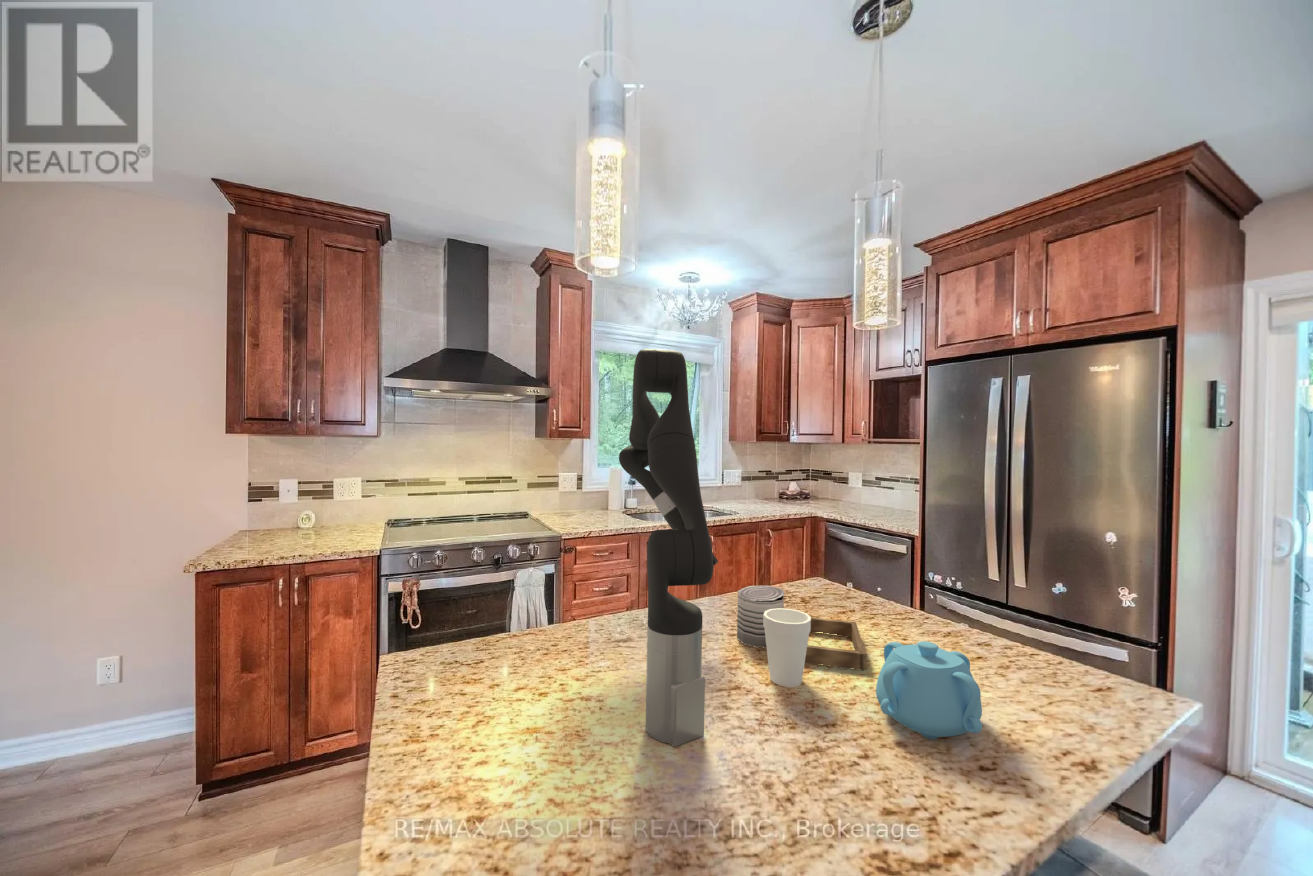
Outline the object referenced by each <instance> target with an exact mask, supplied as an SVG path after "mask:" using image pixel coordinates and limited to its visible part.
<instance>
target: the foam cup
mask: <svg viewBox="0 0 1313 876" xmlns="http://www.w3.org/2000/svg"><path fill="white" fill-rule="evenodd" d="M763 626H764V628H765V637H766V646H767V648H766V654H767V664H768V671H769V679H770V680H771V682H772V683H774V684H776V685H777V684H778V686H782V687H786V688H794V687H799V686H800V685H801V683H802V682H803V676H804V669H805V664H806V663H805V657H806V651H807V645H809V644H808V643H809V636H810V630H811V615H809V614H808V613H806V612H803V611H801V610H798V609H792V608H776V609H769V610H767V611H765V612H764V614H763Z"/></svg>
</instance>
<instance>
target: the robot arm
mask: <svg viewBox="0 0 1313 876" xmlns="http://www.w3.org/2000/svg"><path fill="white" fill-rule="evenodd" d="M686 363H687V362H686V358H685V355H684V354H683V353H682V352H681V351H677V350H672V349H660V348H659V349H658V348H657V349H656V348H643V349H640V350H639V351H638V352H637V354H636V357H635V360H634V366H633V377H632V416H631V417H632V418H631V423H630V428H629V435H628V436H629V437H628V440H629V444H630V445H628V446H627V447H624V448H623V449H622V450H621V451H620V452H619V453H618V454H619V455H618V462H619V464H620V466H621V468H622V469H623V470H624V471H625V472H626V473H627V474H628V475H629V476H631V477H632V478H633V479H634V480H635V481H636V482H638V484H640V485H641V486H642V487H643V488H644V489H645V491H646V492H647V493H648V495H649V496H650V498H651V499H652V501H653V502H654V504H655V507H656V508H657V510H658V512H659V513H660V514H661V516H662V517H663V519H664V521H666V523H667V524H668V526H669V527H670V528H671V529H657V530H656V529H655V530H653V531H652V532H651V533H650V535H649V536H648V538H647V546H646V549H647V550H646V565H647V566H646V567H647V568H646V569H647V591H648V592H647V633H646V635H647V637H646V638H647V639H646V640H647V641H646V677H645V678H646V681H645V682H646V683H645V684H646V685H645V688H646V689H645V730H646V732H647V734H648V735H649V736H650V737H651V738H653V739H655V740H657V741H659V742H662V743H667V744H670V745H672V746H673V747H677V746H681V745H683V744H686V743H688V742H690V741H693V740H695V739H698V738H700V737H702V736H703V737H704V735H705V705H706V704H705V700H706V699H705V698H706V696H705V695H706V694H705V693H706V678H705V677H704V676H703V675H702V655H703V651H702V650H703V611H702V610H701V608H700V607H699V606H697V604H695V603H692V602H689V601H687V600H684V599H681V598H678V597H677V596H674V595H673V594H671V593H670V592H669V587H679V586H681V587H683V586H686V587H688V586H703V585H706V584H708V583H710V581H711V580H712V577H713V573H714V566H715V565H716V564H718V562H719V561H718V558H717V557H716V556H715V554H714V553H713V547H712V544H713V543H712V540H711V537H710V531H709V527H708V522H707V517H706V514H705V509H704V504H703V499H702V494H701V486H700V478H699V467H698V458H697V456H698V455H697V451H696V442H695V437H694V433H693V432H694V431H693V426H692V418H691V413H690V404H689V388H688V387H689V385H688V373H687V372H688V371H687V364H686ZM647 393H659V394H660V393H661V394H666V393H667V394H670V400H669V403H668V405H667V406H666V408H665V410H664V411H663V413H662V414H661V415H659V413H658V411H657V409H656V408H655V406H654V405H653V403H652V402H651V400H650V397H648V394H647ZM647 467H648V468H649V469H646V468H647Z"/></svg>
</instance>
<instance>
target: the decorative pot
mask: <svg viewBox="0 0 1313 876" xmlns="http://www.w3.org/2000/svg"><path fill="white" fill-rule="evenodd" d="M883 657H884V663H883V665H882V667H881V669H880V671H879V674H878V678H877V681H876V686H875V697H876V699H877V701H878V703H879V705H880V706H879V708H880V710H881V711H882V713H883V714H884V715H886V716H889V717H891V718H892V719H893V720H895V721H896V722H897V723H899V724H901V725H902V726H904V727H906V728H908V729H909V730H912V731H914V732H916V733H919V734H920V735H921V736H922V737H924V738H926V739H929V740H937V739H938V738H939V737H940V738H942V737H943V738H944V737H955V736H961V735H964V734H967V733H968V732H969V733H971V734H979V733H980V732H982V730H983V724H982V721H981V718H982V714H983V706H982V699H981V697H982V696H981V695H982V694H981V689H980V686H979V685H978V683H977V681H976V680H975V678H974V676H973V674H972V672H971V662H970V660H969V657H968V656H966V654H964V653H962V652H960V651H957V650H952V651H948V650H945V649H943V648H941V647H939V646H938V645H937V644H935V643H934V642H930V641H925V640H922V641H918V642H917V643H915V644H914V643H913V644H902V643H900V642H898V641H893V642H892V641H890V642H888V643H886V644H885V646H884V647H883Z"/></svg>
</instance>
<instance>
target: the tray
mask: <svg viewBox="0 0 1313 876" xmlns="http://www.w3.org/2000/svg"><path fill="white" fill-rule="evenodd" d="M810 617H811V616H810ZM810 632H823V633H829V634H837V635H842V636H841V637H845V636H851V637H852V638H851V637H850V638H851V641H853V642H852V646H853V649H855V650H852V649H851V650H850V649H843V648H842V649H841V648H833V647H828V646H827V647H825V646H820V645H819V646H818V645H810V644H807V651H806V657H805V664H811V665H818V664H823V665H822V666H826V665H830V666H829V667H833V666H836V667H835V668H841V667H842V669H843V668H844V669H849V668H854V669H853V670H856V669H861V670H860V671H864V670H866V668H867V653H866V650H865V647H864V643H863V641H862V637H861V633H860V631H859V627H858V623H857V622H856V621H847V620H839V619H830V618H822V617H819V618H818V617H811V630H810Z"/></svg>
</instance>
